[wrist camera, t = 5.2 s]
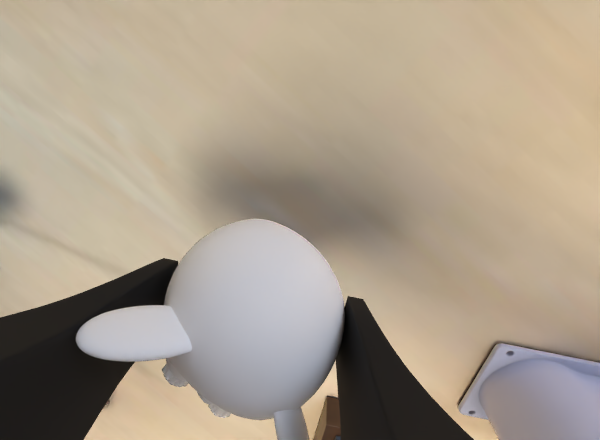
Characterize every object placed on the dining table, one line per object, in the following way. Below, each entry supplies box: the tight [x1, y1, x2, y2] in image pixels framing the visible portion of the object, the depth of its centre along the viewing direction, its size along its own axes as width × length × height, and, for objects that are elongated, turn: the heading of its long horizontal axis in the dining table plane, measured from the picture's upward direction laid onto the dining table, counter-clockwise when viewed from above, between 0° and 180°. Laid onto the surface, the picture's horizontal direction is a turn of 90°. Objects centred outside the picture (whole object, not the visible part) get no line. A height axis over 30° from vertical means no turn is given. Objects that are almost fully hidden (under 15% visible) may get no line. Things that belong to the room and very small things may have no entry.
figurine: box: [76, 219, 345, 440], centre depth 10 cm, size 8×6×7 cm
